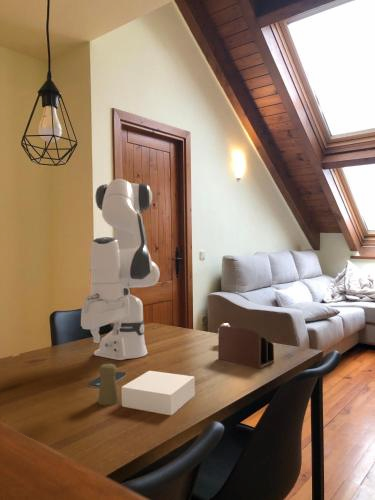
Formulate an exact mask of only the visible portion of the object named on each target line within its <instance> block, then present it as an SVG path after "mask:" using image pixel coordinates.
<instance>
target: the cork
mask: <svg viewBox="0 0 375 500" xmlns="http://www.w3.org/2000/svg"><path fill="white" fill-rule="evenodd" d="M116 372H118V370H117V366H116V365H115V364H114V363H104V364H101V365H100V366H99V367H98V374H99V377H100V376H101V381H100V388H99V389H98V390H99V391H98V392H99V393H98V401H97V403H98V404H99V405H101V406H111V405H115V404H117V403H119V394H118V388H117V382H116V380H115V374H116Z"/></svg>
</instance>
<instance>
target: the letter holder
mask: <svg viewBox="0 0 375 500" xmlns="http://www.w3.org/2000/svg"><path fill="white" fill-rule="evenodd" d="M218 328H219V331H218V332H219V339H218V338H217V339H218V350H217V351H218V354H217V358H218V360H223V361H227V362H230V363H231V362H232V363H234V364H239V365H244V366H246V367H247V366H248V367H252V368H257V369H262V368H265V367H267V366H269V365H271V364H274V363H275V349H274V347H275V346H274V343H273V342H272V341H270V340H268V339H267V338H266V337H263V336H262V334H261V333H260V332H258V331H256V330H252V329H249V328H246V327H242V326H236V325H235V326H233V325H230V326H221V325H220V326H219V327H218Z"/></svg>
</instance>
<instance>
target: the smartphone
mask: <svg viewBox="0 0 375 500" xmlns="http://www.w3.org/2000/svg"><path fill="white" fill-rule="evenodd" d="M126 376H127V372H126V371H125V372H124V371H117V372H116V374H115V380H116V383H117V382H119V381H120V380H121V379H123V378H125V377H126ZM100 381H101V376H100V375H99V376H98V377H97V378H95V379H93V380H91V381H89V382H88V383H87V385H88V387H92V388H99V389H100Z"/></svg>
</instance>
